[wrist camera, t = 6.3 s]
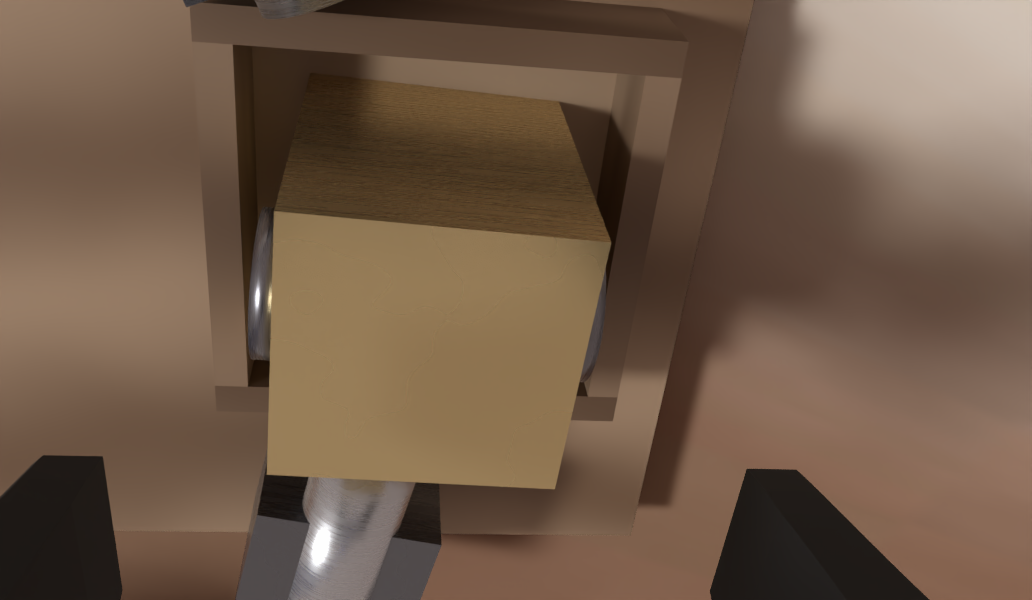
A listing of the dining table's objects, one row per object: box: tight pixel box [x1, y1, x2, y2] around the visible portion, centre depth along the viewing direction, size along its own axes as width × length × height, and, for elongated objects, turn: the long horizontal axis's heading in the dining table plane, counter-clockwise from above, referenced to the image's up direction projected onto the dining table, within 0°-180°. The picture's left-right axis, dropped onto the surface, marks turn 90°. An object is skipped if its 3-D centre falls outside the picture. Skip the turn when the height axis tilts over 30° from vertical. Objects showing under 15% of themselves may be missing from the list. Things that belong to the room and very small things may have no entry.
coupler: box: [248, 73, 611, 489], centre depth 16 cm, size 5×4×6 cm
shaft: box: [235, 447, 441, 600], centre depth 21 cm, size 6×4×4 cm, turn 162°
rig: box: [0, 0, 754, 536], centre depth 18 cm, size 17×15×3 cm
